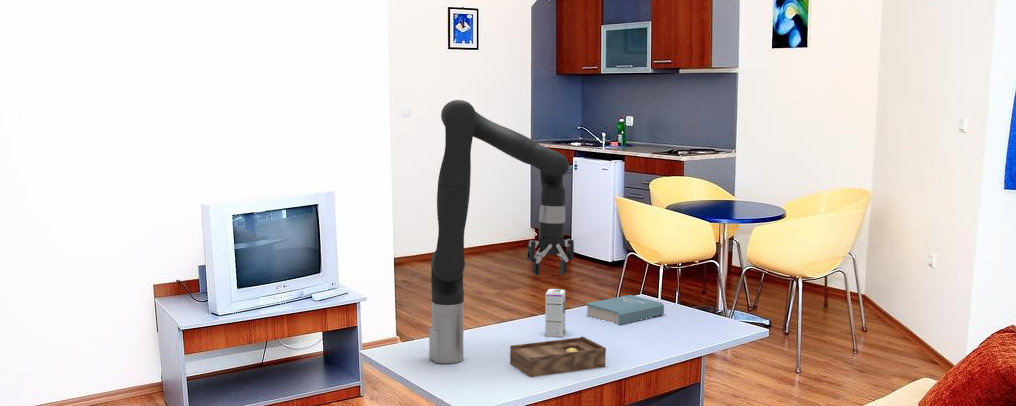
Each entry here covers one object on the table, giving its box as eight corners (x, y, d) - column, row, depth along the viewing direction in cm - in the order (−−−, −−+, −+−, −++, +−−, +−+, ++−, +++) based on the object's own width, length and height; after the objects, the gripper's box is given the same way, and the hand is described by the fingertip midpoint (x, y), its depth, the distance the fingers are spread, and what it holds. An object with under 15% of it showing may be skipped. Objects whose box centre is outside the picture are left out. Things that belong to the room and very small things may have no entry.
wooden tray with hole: (530, 377, 245) (530, 357, 244) (510, 363, 257) (510, 345, 256) (605, 366, 255) (605, 347, 255) (582, 354, 267) (582, 336, 266)
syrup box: (562, 337, 286) (563, 293, 284) (544, 336, 287) (545, 292, 285) (565, 332, 291) (566, 289, 289) (547, 331, 292) (548, 288, 291)
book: (629, 308, 328) (630, 294, 327) (663, 316, 316) (664, 303, 315) (585, 317, 314) (586, 303, 313) (619, 326, 301) (619, 312, 301)
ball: (584, 351, 257) (580, 367, 257) (576, 347, 261) (572, 362, 261) (571, 348, 255) (566, 364, 255) (563, 344, 259) (559, 360, 259)
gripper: (535, 222, 255) (533, 278, 257) (579, 221, 261) (577, 276, 263) (524, 219, 262) (522, 273, 264) (567, 218, 268) (565, 271, 270)
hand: (549, 274), depth 263 cm, fingers open, 8 cm apart
